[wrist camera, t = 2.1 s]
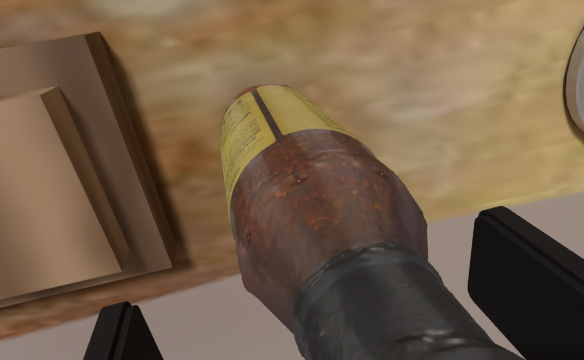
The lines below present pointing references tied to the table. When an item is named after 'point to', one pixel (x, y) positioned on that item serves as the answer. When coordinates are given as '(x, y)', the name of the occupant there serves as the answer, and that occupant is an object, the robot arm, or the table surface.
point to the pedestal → (72, 175)
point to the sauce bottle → (335, 239)
